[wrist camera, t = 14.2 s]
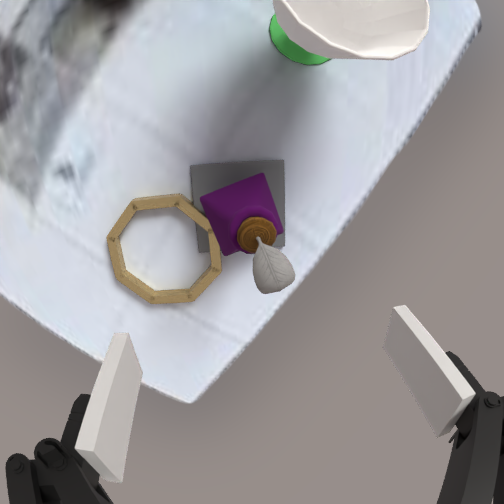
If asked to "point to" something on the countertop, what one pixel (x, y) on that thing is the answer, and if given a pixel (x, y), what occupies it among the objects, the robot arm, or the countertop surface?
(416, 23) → the cup
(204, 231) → the slate coaster
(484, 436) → the robot arm
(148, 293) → the wooden octagonal frame
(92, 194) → the countertop surface
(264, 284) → the perfume bottle
